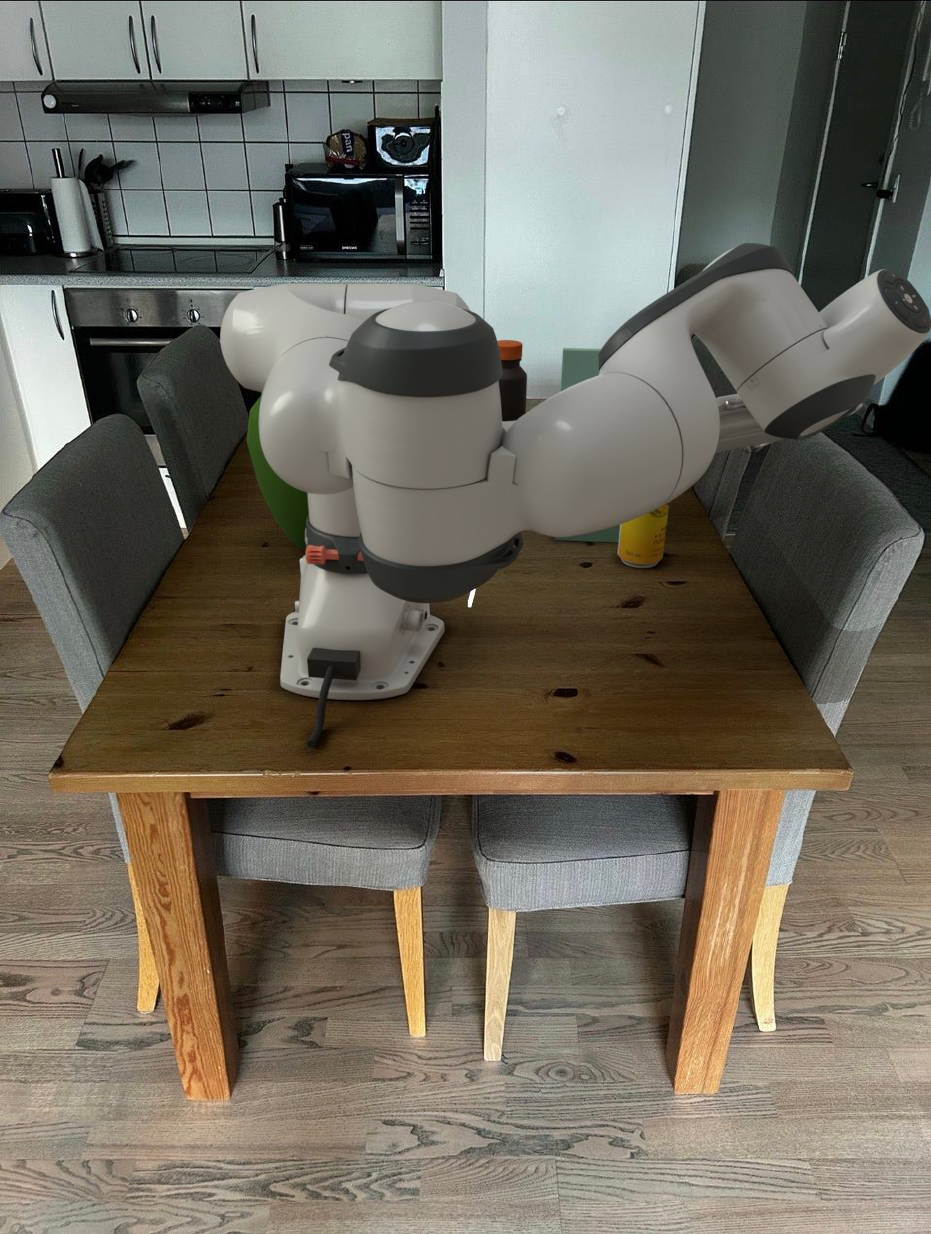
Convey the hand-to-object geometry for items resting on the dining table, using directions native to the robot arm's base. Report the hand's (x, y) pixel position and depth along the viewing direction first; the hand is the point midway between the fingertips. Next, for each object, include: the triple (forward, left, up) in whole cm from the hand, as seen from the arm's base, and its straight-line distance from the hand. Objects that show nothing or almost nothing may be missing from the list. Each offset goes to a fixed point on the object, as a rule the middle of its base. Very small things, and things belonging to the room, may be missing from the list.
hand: (717, 453), depth 111 cm
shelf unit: (+22, +11, -19) cm, 31 cm away
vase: (+11, +49, -19) cm, 54 cm away
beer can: (+10, +6, -19) cm, 22 cm away
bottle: (+48, +26, -19) cm, 58 cm away
